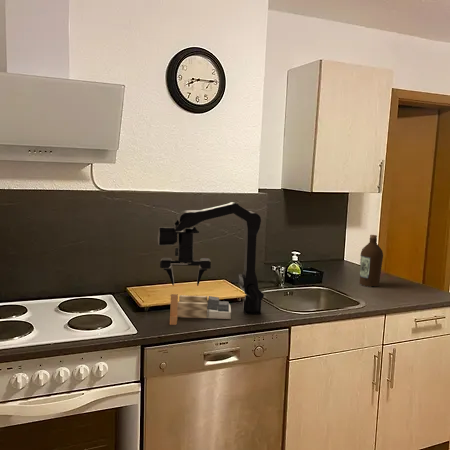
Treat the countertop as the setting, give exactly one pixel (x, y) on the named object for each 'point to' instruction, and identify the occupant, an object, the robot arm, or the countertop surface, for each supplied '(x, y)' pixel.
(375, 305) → the countertop surface
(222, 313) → the tray
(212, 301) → the grey cube
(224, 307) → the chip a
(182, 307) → the rail
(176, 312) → the rake tool
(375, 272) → the olive oil
